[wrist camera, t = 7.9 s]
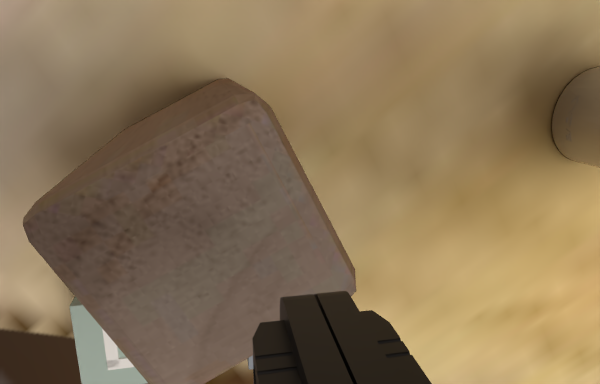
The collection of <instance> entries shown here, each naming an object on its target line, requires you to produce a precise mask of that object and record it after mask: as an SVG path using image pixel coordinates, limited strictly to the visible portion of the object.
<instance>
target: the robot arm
mask: <svg viewBox="0 0 600 384" xmlns="http://www.w3.org/2000/svg"><path fill="white" fill-rule="evenodd" d="M552 133H553V138H554V141H555V144H556V146H557V148H558V149H559V151H560V152H561V153H562V154H563V155H564V156H565V157H567V158H569V159H571V160H573V161H577V162H580V163H584V164H588V165H592V166H596V167H599V168H600V67H596V68H591V69H589V70H587V71H585V72H583V73H581V74H580V75H578V76H577V77H576V78H574V79H573V80H572V81H571V82H570V83H569V84H568V86H567V87H566V88H565V89H564V91H563V92H562V94H561V95H560V97H559V100H558V102H557V104H556V106H555V110H554V114H553V120H552ZM252 342H253V373H254V384H431V382H430V381H429V379H428V378H427V376H426V375H425V373H424V372H423V371H422V369H421V368H420V366H419V365H418V363H417V362H416V360H415V359H414V357H413V356H412V355H410V353H409V350H408V349H407V347H406V346H405V344H404V343H403V341H401V340H400V337H399V335H398V334H397V333H396V331H395V330H394V328H393V327H392V325H391V324H390V322H388V321H387V320H385V319H384V318H382V317H381V316H379V315H378V314H376V313H375V312H374V311H372V310H370V311H361V312H360V311H359V310H358V308H357V306H356V305H355V303H354V301H353V300H352V298H351V296H350V295H349V293H348V292H347V291H337V292H327V293H317V294H314V295H313V294H308V295H298V296H288V297H281V298H280V321H270V322H261V323H260V324H259V326H258V328H257V330H256V332H255V334H254V336H253V338H252Z"/></svg>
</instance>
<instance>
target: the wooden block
mask: <svg viewBox="0 0 600 384" xmlns="http://www.w3.org/2000/svg"><path fill="white" fill-rule="evenodd" d="M23 227H24V229H25V232H26V234H27V237H28V240H29V242H30V243H31V244H32V245H33V247H34V248H35V249H36V250H37V251H38V253H39V254H40V255H41V256H42V257H43V258H44V260H45V261H46V262H47V263H48V264H49V266H50V267H51V268H52V269H53V270H54V272H55V273H56V274H57V275H58V276H59V278H60V279H61V280H62V281H63V282H64V283H65V285H66V286H67V287H68V288H69V289H70V291H71V292H72V293H73V294H74V295H75V297H76V298H77V299H78V300H79V301H80V302H81V304H82V305H83V306H84V307H85V308H86V310H87V311H88V312H89V313H90V314H91V316H92V317H93V318H94V319H95V320H96V322H97V323H98V324H99V325H100V326H101V327H102V329H103V330H104V331H105V332H106V333H107V335H108V336H109V337H110V338H111V339H112V341H113V342H114V343H115V344H116V345H117V346H118V348H119V349H120V350H121V351H122V352H123V354H124V355H125V356H126V357H127V358H128V360H129V361H130V362H131V363H132V364H133V366H134V367H135V368H136V369H137V370H138V371H139V373H140V374H141V375H142V376H143V377H144V379H145V380H146V381H147V382H148V383H149V384H204V383H206V382H208V381H209V380H211V379H213V378H215V377H216V376H218V375H220V374H222V373H223V372H225V371H227V370H228V369H230V368H232V367H234V366H235V365H237V364H239V363H241V362H242V361H244V360H246V359H248V358H249V357H251V356H253V342H252V338H253V336H254V334H255V332H256V330H257V328H258V326H259V324H260V323H261V322H270V321H280V298H281V297H288V296H298V295H308V294H313V295H314V294H317V293H327V292H337V291H347V292H348V293H349V295H350V296H352V295H353V294H354V293H355V292H356V280H355V268H354V267H353V265H352V263H351V261H350V259H349V257H348V255H347V253H346V251H345V249H344V247H343V245H342V243H341V241H340V240H339V238H338V236H337V234H336V232H335V230H334V228H333V226H332V224H331V222H330V220H329V218H328V216H327V214H326V213H325V211H324V209H323V207H322V205H321V203H320V201H319V199H318V197H317V195H316V193H315V191H314V189H313V187H312V186H311V184H310V182H309V180H308V178H307V176H306V174H305V172H304V170H303V168H302V166H301V164H300V162H299V161H298V159H297V157H296V155H295V153H294V151H293V149H292V147H291V145H290V143H289V141H288V139H287V137H286V135H285V134H284V132H283V130H282V128H281V126H280V124H279V122H278V120H277V118H276V116H275V114H274V112H273V110H272V108H271V107H270V106H269V105H268V104H267V103H266V102H265V101H263V100H262V99H261V98H260V97H259V96H257V95H256V94H255V93H254V92H252V91H250V90H248V89H246V88H245V87H243V86H241V85H239V84H237V83H236V82H234V81H232V80H230V79H229V78H227V79H218V80H216V81H214V82H212V83H210V84H208V85H207V86H205V87H203V88H201V89H199V90H197V91H195V92H194V93H192V94H190V95H188V96H186V97H184V98H182V99H181V100H179V101H177V102H175V103H173V104H171V105H169V106H167V107H166V108H164V109H162V110H160V111H158V112H156V113H154V114H153V115H151V116H149V117H147V118H145V119H143V120H141V121H140V122H138V123H136V124H134V125H132V126H130V127H128V128H126V129H125V130H123V131H122V132H121V133H120V134H118V135H117V136H116V137H115V138H114V139H112V140H111V141H110V142H109V143H107V144H106V145H105V146H104V147H103V148H101V149H100V150H99V151H98V152H96V153H95V154H94V155H93V156H91V157H90V158H89V159H88V160H87V161H85V162H84V163H83V164H82V165H80V166H79V167H78V168H77V169H76V170H74V171H73V172H72V173H71V174H69V175H68V176H67V177H66V178H65V179H63V180H62V181H61V182H60V183H58V184H57V185H56V186H55V187H54V188H52V189H51V190H50V191H49V192H47V193H46V194H45V195H44V196H43V197H41V198H40V199H39V200H38V201H36V203H35V204H34V205H33V206H32V208H31V209H30V210H29V212H28V213H27V214H26V216H25V217H24V219H23Z"/></svg>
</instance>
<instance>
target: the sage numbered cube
mask: <svg viewBox="0 0 600 384" xmlns="http://www.w3.org/2000/svg"><path fill="white" fill-rule="evenodd" d="M70 313H71V319H72V325H73V331H74V338H75V344H76V350H77V356H78V363H79V369H80V375H81V382H82V384H145V383H148V382H147V381H146V380H145V379H144V377H143V376H142V375H141V374H140V373H139V371H138V370H137V369H136V368H135V367H134V366H133V364H132V363H131V362H130V361H129V360H128V358H127V357H126V356H125V355H124V354H123V352H122V351H121V350H120V349H119V348H118V346H117V345H116V344H115V343H114V342H113V341H112V339H111V338H110V337H109V336H108V335H107V333H106V332H105V331H104V330H103V329H102V327H101V326H100V325H99V324H98V323H97V322H96V320H95V319H94V318H93V317H92V316H91V314H90V313H89V312H88V311H87V310H86V308H85V307H84V306H83V305H82V304H81V302H80V301H79V300H78V299H77V298H76V297H74V299H73V301H72V303H71V305H70Z"/></svg>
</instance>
